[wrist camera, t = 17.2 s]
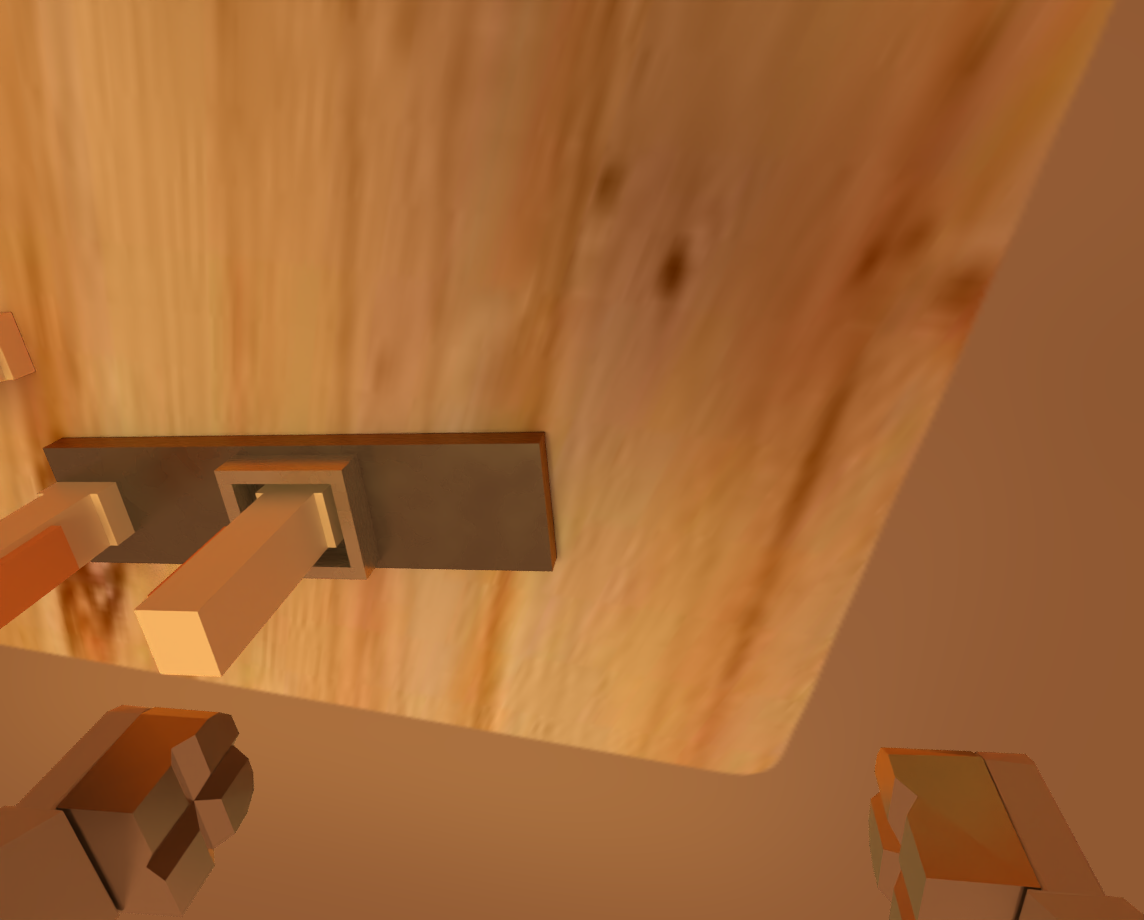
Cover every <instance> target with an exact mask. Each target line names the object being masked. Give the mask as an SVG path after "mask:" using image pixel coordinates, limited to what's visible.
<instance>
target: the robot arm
mask: <svg viewBox="0 0 1144 920" xmlns="http://www.w3.org/2000/svg"><path fill="white" fill-rule="evenodd" d="M238 735H239V732H238V730H237V727H236V725H235V723H234V720H233V718H232V716H231V715H229V714H225V713H220V712H209V711H198V710H186V709H174V708H161V707H142V706H129V705H121V706H119V707H116V708H114V709H112V710H110V711H107V712H106V713H105V714H104V715H103V717H102V718H101V719H100V720H99V721H98V722H97V723H96V724H95V725H94V726H93V727H92V728H91V729H90V730H89V731H88V732H87V733H86V734H85V735H84V736H83V737H82V738H81V739H80V740H79V741H78V742H77V743H76V744H75V745H74V746H73V747H72V748H71V749H70V750H69V751H68V752H67V753H66V754H65V756H64V757H63V758H62V759H61V760H60V761H59V762H58V763H57V764H56V765H55V766H54V767H53V768H52V769H51V770H50V771H49V772H48V773H47V774H46V775H45V776H44V777H43V778H42V779H41V780H40V781H39V782H38V783H37V784H36V785H35V786H34V787H33V788H32V789H31V790H30V791H29V793H27V795H25V797H24V798H23V799H22V800H21V801H20V802H19V803H18V804H17V805H16V806H3V807H1V808H0V920H116V919H117V918H119V913H118V912H121V913H136V914H149V915H163V916H177V917H183V915H184V914H185V912H186V911H187V909H188V907H189V906H190V904H191V903H192V901H193V899H194V898H195V896H196V895H197V893H198V892H199V890H200V888H201V887H202V885H203V884H204V882H205V880H206V879H207V877H208V876H209V874H210V873H211V871H212V869H213V868H214V866H215V863H214V862H215V861H214V848H216V847H217V846H218V845H220V844H221V843H223V842H224V841H225V840H227V839H228V838H229V837H231V836H232V835H234V834H235V833H236V831H237V829H238V828H239V826H240V824H241V823H242V821H243V819H244V818H245V816H246V814H247V812H248V808H249V805H250V801H251V798H252V794H253V791H254V781H253V770H252V767H251V765H250V762H249V759H248V758H247V757H246V756H245V755H244V754H243V753H242V752H241V751H239V750H238V749H237V748H236V747H235V746H234V743H235V741H236V738H237V737H238ZM874 772H875V775H876V779H877V783H878V787H879V790H880V792H879V793H877V794H876V795H875V796H874V797H873V798H871V800H870V810H869V820H868V821H869V846H870V852H871V858H872V865H873V869H874V874H875V878H876V883H877V887H878V889H879V890H880V891H881V892H882V893H883V894H884V895H885V896H886V897H887V898H888V899H889V900H890V902H891V909H890V915H889V920H1144V914H1143V913H1141V912H1140V911H1139V910H1138V909H1136V908H1135V907H1134V906H1133V905H1131V904H1130V903H1129V902H1128V901H1127V900H1125V899H1124V898H1122V897H1113V896H1106V895H1105V893H1104V891H1103V889H1102V887H1101V886H1100V884H1099V882H1098V880H1097V878H1096V876H1095V874H1094V872H1093V871H1092V869H1091V867H1090V865H1089V863H1088V861H1087V859H1086V857H1085V856H1084V854H1083V852H1082V850H1081V848H1080V846H1079V845H1078V843H1077V841H1076V839H1075V837H1074V835H1073V833H1072V831H1071V829H1070V828H1069V826H1068V824H1067V822H1066V820H1065V818H1064V816H1063V815H1062V813H1061V811H1060V809H1059V807H1058V805H1057V804H1056V801H1055V800H1054V798H1053V796H1052V794H1051V792H1050V790H1049V788H1048V787H1047V785H1046V783H1045V781H1044V779H1043V777H1042V776H1041V773H1040V772H1039V770H1038V768H1037V766H1036V764H1035V762H1034V761H1033V760H1032V759H1030V758H1029V757H1028V756H1027V755H1026V754H1017V753H996V752H975V753H973V752H971V751H956V750H933V749H910V748H886V747H881V748H880V750H879V752H878V754H877V758H876V765H875V771H874Z"/></svg>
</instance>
